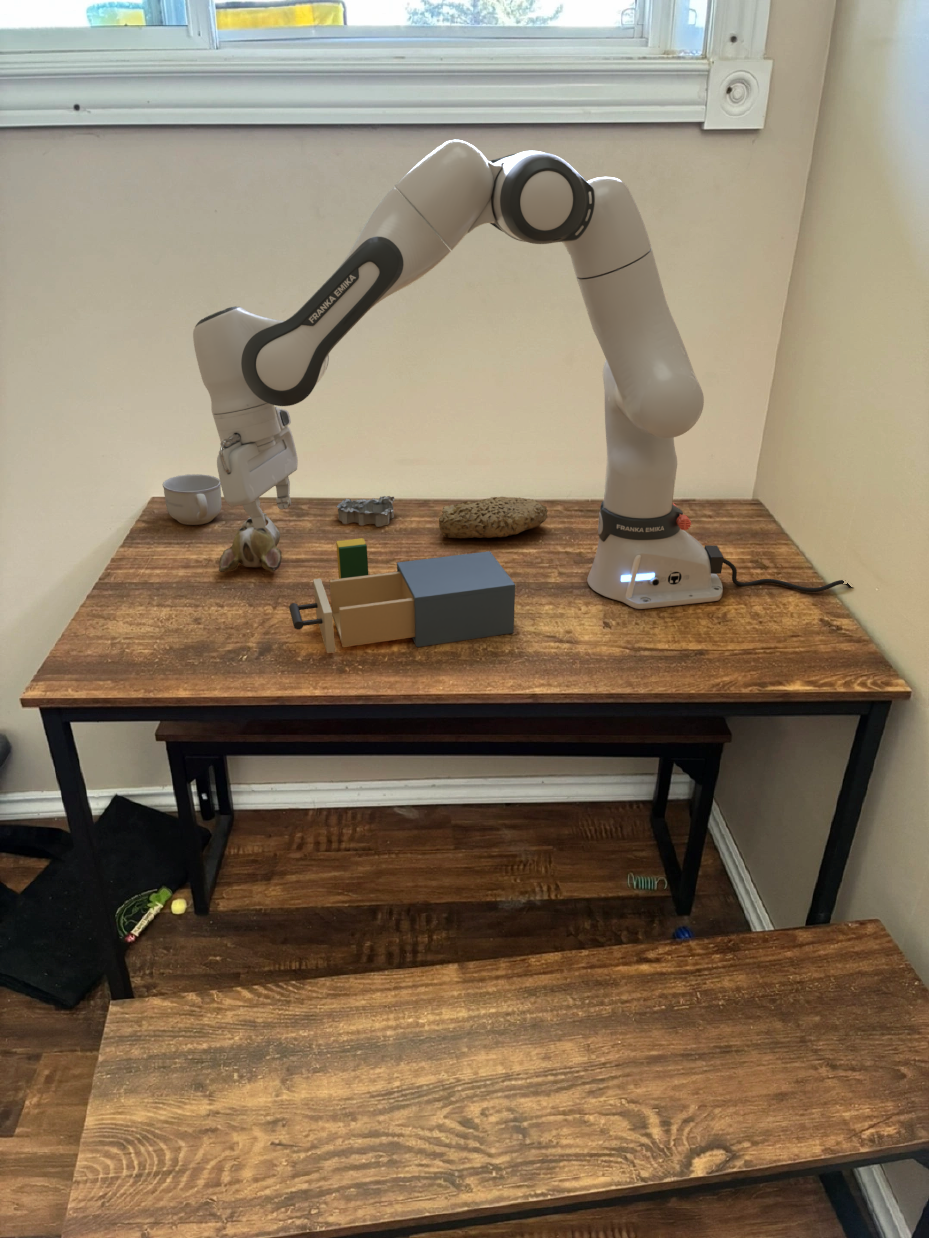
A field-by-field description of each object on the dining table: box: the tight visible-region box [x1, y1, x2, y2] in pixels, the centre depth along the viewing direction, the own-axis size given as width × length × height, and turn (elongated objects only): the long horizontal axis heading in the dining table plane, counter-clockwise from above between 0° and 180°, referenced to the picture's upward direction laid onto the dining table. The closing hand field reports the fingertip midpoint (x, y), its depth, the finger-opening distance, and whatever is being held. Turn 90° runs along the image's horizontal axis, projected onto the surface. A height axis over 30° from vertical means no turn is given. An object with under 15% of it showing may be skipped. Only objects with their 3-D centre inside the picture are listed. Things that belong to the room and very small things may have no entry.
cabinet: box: [396, 550, 516, 648], centre depth 137 cm, size 15×12×8 cm
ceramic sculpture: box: [218, 516, 282, 573], centre depth 155 cm, size 11×9×15 cm
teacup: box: [162, 473, 222, 526], centre depth 171 cm, size 14×11×8 cm
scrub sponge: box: [335, 537, 369, 579], centre depth 145 cm, size 4×3×9 cm
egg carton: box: [335, 495, 395, 528], centre depth 174 cm, size 11×8×4 cm
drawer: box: [288, 571, 415, 654], centre depth 133 cm, size 19×11×7 cm, turn 106°
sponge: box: [438, 496, 549, 539], centre depth 167 cm, size 13×8×20 cm
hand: (274, 517), depth 133 cm, fingers open, 8 cm apart
